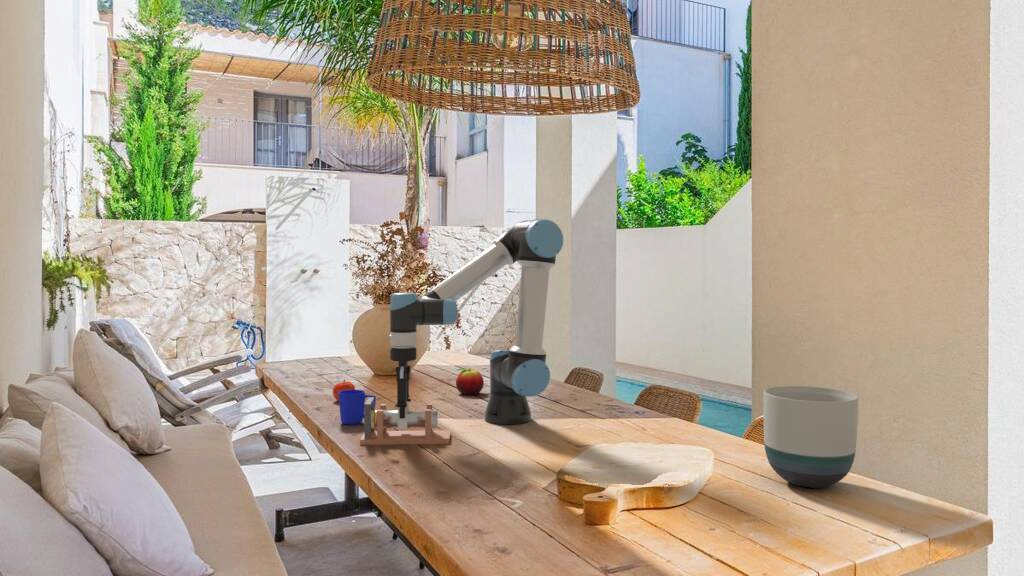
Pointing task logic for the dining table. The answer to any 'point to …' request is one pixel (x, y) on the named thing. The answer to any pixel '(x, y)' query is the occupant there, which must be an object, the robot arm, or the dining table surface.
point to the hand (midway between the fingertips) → (403, 426)
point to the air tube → (413, 419)
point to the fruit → (469, 382)
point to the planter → (810, 433)
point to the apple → (342, 388)
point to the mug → (352, 406)
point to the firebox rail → (399, 436)
